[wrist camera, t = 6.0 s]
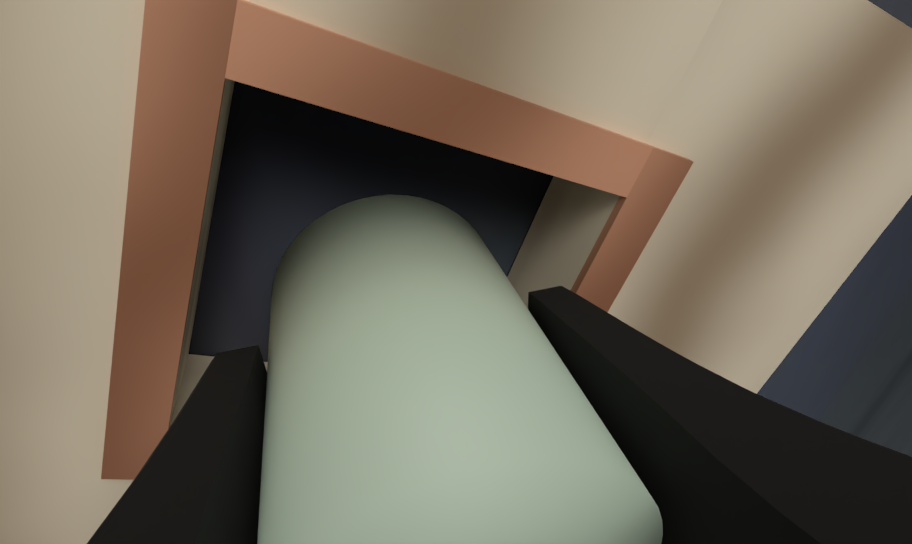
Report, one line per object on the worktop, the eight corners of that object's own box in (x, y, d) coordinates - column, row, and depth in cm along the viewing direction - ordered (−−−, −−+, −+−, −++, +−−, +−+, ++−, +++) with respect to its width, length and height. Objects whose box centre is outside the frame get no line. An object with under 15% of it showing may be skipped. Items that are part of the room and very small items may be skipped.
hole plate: (887, 62, 13) (1009, 85, 11) (596, 490, 20) (635, 558, 18) (-609, -799, 4) (-1500, -1539, 2) (-231, 479, 11) (-361, 611, 9)
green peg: (491, 177, 10) (697, 412, 5) (494, 356, 12) (636, 639, 7) (242, 217, 9) (182, 552, 4) (299, 401, 11) (306, 754, 6)
